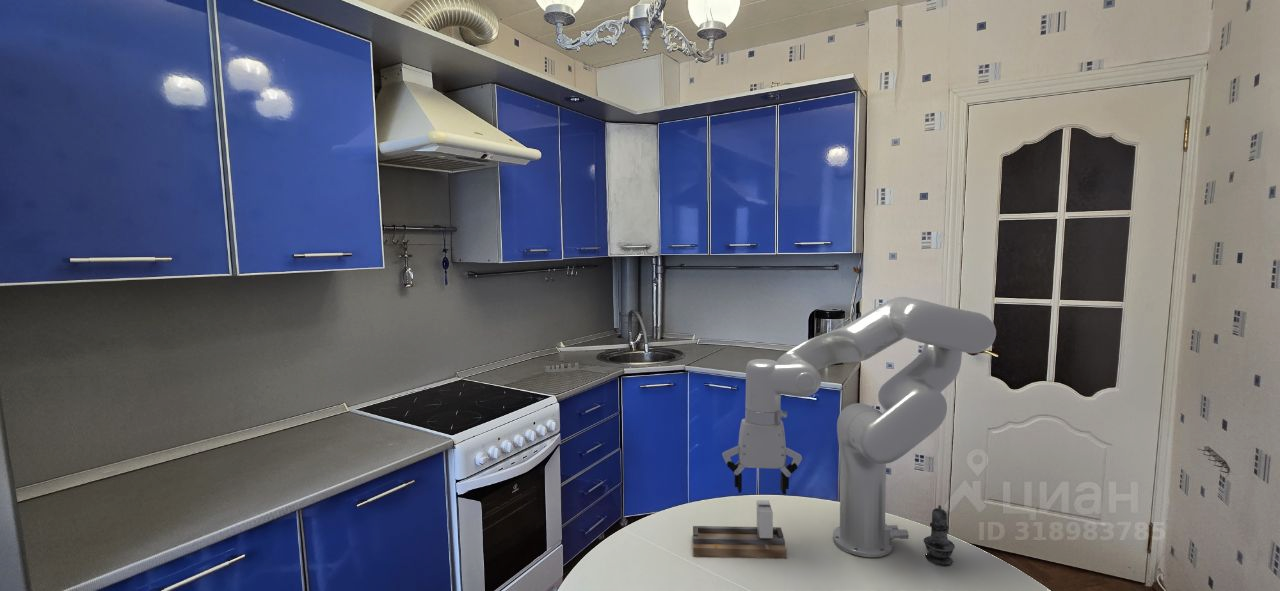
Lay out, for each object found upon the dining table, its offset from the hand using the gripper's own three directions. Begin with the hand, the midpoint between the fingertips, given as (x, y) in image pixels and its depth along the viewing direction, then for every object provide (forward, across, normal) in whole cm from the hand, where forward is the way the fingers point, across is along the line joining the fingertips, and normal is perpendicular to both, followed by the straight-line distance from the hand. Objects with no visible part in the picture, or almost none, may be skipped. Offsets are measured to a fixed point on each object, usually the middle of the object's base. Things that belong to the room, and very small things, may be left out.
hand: (761, 490), depth 124 cm
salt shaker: (+12, -37, +3) cm, 39 cm away
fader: (+11, -1, 0) cm, 11 cm away
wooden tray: (+13, +5, 0) cm, 14 cm away
